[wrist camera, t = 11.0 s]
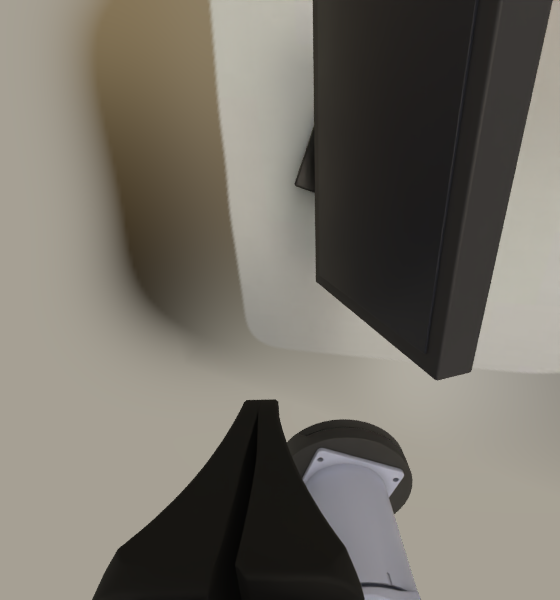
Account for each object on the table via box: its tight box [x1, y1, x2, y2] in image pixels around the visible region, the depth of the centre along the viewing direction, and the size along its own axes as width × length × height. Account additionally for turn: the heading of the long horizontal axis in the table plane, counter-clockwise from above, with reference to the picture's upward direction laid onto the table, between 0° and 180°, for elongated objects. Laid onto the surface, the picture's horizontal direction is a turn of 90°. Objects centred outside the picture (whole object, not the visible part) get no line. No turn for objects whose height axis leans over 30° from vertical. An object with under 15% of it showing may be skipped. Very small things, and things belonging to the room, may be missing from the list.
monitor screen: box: [313, 0, 553, 380], centre depth 10 cm, size 1×12×9 cm, turn 4°
